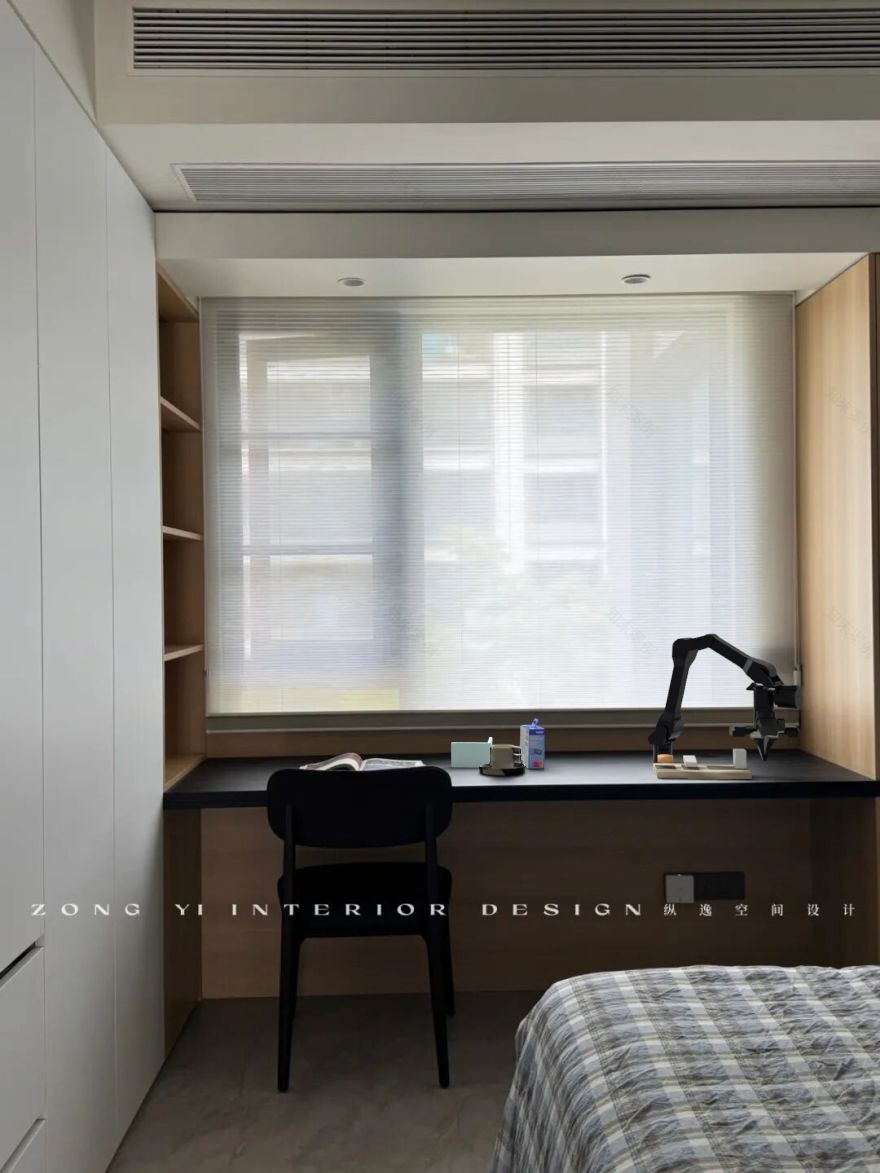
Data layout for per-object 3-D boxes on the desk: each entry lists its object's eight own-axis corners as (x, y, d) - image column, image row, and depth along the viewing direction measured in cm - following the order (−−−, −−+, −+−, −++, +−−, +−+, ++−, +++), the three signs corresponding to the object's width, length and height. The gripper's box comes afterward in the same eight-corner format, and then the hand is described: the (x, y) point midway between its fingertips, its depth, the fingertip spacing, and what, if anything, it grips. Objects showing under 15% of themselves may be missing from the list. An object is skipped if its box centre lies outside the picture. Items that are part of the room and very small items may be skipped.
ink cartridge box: (545, 768, 294) (545, 720, 294) (528, 769, 293) (527, 721, 293) (536, 763, 304) (535, 716, 304) (519, 764, 303) (518, 717, 303)
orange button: (657, 760, 286) (657, 754, 286) (672, 760, 285) (672, 754, 285) (658, 763, 282) (658, 756, 282) (674, 763, 281) (674, 757, 281)
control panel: (652, 769, 291) (652, 762, 291) (742, 770, 288) (742, 763, 288) (657, 778, 277) (657, 770, 277) (751, 780, 274) (751, 772, 274)
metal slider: (733, 765, 283) (733, 748, 283) (743, 766, 283) (743, 748, 283) (735, 768, 279) (735, 751, 279) (746, 768, 279) (746, 751, 279)
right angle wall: (492, 760, 309) (492, 737, 309) (490, 767, 297) (490, 743, 297) (454, 760, 310) (454, 736, 310) (451, 767, 298) (451, 742, 298)
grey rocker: (683, 760, 286) (683, 755, 285) (694, 760, 285) (694, 755, 285) (685, 766, 280) (685, 762, 280) (697, 766, 280) (697, 762, 279)
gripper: (735, 710, 273) (736, 765, 273) (804, 710, 271) (805, 766, 271) (728, 705, 284) (729, 758, 284) (794, 705, 282) (795, 759, 282)
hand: (764, 761), depth 280 cm, fingers closed
